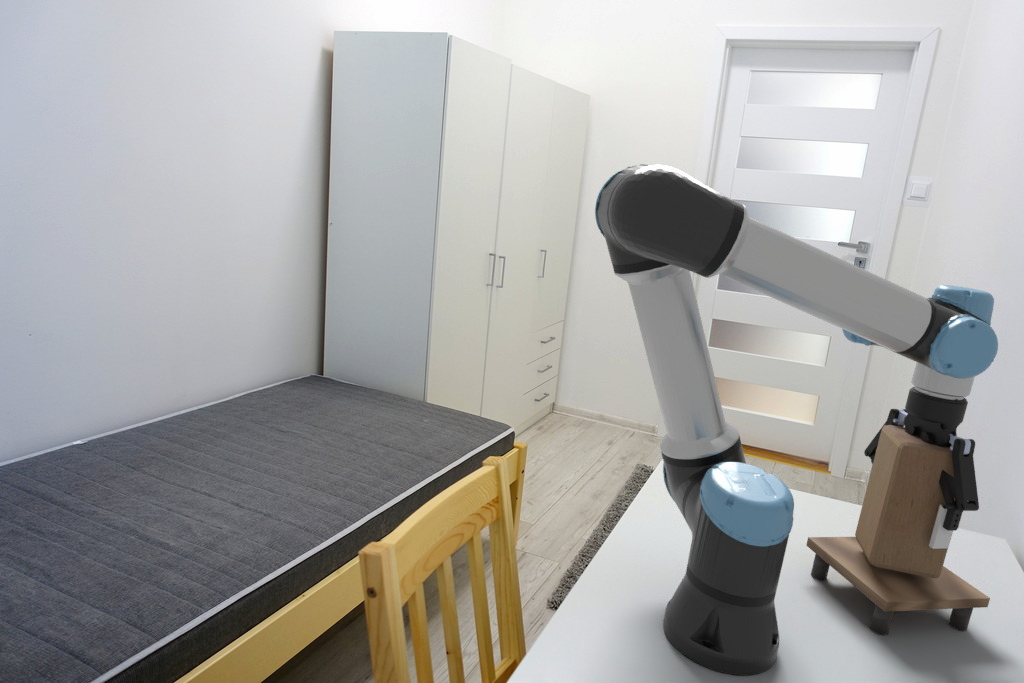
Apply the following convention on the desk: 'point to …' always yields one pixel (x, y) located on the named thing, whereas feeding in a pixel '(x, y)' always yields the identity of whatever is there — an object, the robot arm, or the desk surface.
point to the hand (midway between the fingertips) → (904, 524)
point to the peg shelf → (895, 584)
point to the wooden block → (904, 504)
